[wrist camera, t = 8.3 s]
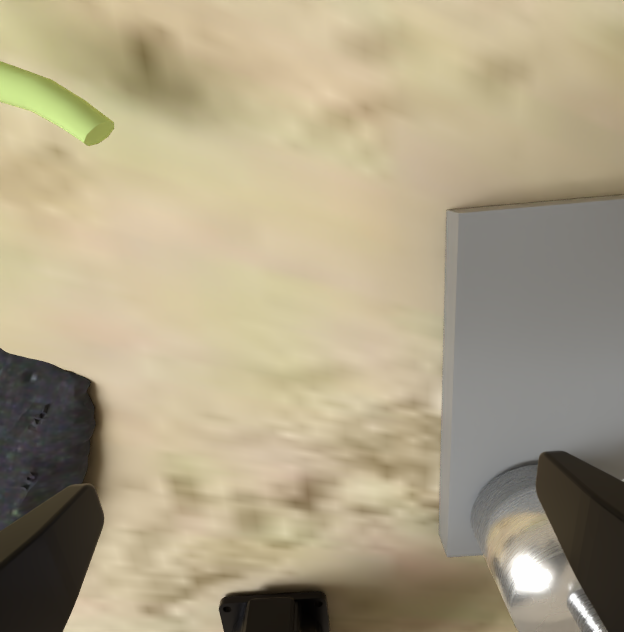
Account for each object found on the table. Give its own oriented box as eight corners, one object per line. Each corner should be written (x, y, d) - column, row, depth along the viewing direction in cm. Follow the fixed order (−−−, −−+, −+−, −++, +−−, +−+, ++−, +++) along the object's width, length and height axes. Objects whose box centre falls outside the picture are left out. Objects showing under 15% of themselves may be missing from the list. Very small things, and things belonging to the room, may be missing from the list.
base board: (726, 515, 22) (754, 538, 21) (438, 533, 23) (447, 557, 22) (838, 175, 16) (888, 175, 15) (446, 209, 17) (458, 213, 16)
